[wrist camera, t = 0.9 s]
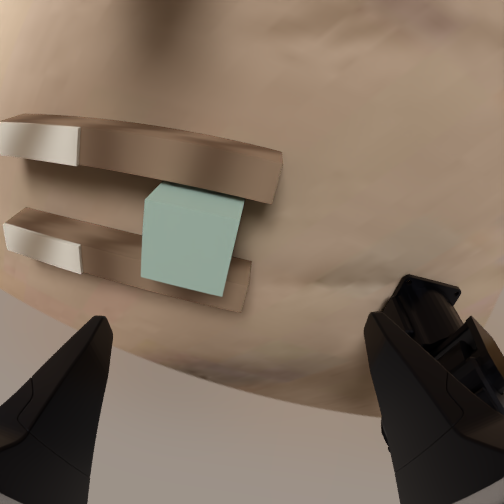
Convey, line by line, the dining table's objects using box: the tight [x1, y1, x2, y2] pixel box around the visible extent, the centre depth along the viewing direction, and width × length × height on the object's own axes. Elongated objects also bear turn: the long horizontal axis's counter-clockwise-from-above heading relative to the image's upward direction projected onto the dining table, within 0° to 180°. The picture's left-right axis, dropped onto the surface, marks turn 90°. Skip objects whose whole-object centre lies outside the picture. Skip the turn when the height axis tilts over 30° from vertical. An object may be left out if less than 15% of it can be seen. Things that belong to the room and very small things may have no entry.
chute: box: [0, 114, 283, 313], centre depth 19 cm, size 20×11×3 cm, turn 77°
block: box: [141, 180, 245, 297], centre depth 19 cm, size 5×5×5 cm
